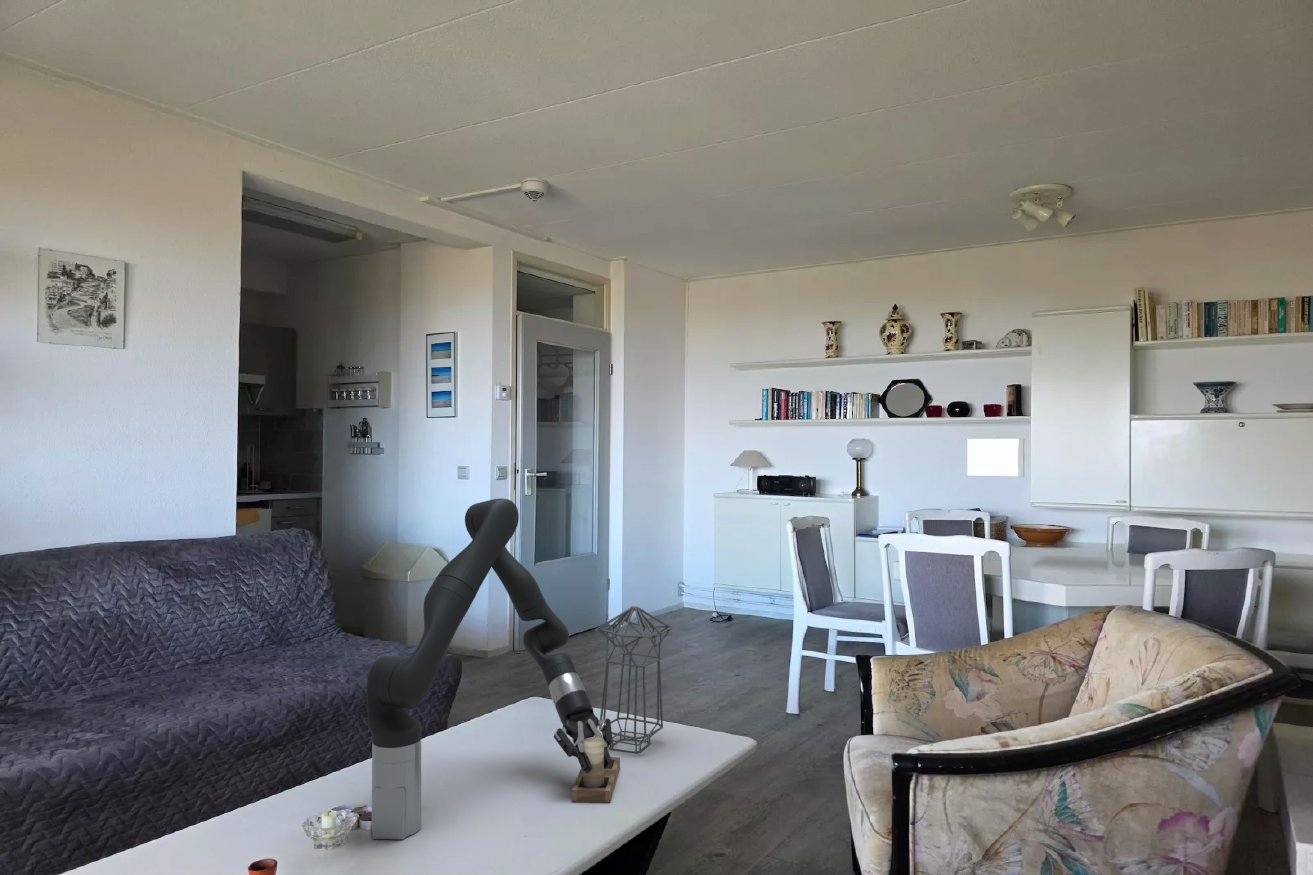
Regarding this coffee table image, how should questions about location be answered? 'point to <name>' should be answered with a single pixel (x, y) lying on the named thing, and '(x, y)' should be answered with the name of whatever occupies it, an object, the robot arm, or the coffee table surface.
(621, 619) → the geometric lantern
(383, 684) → the robot arm
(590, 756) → the banded peg
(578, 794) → the socket block
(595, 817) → the coffee table surface
